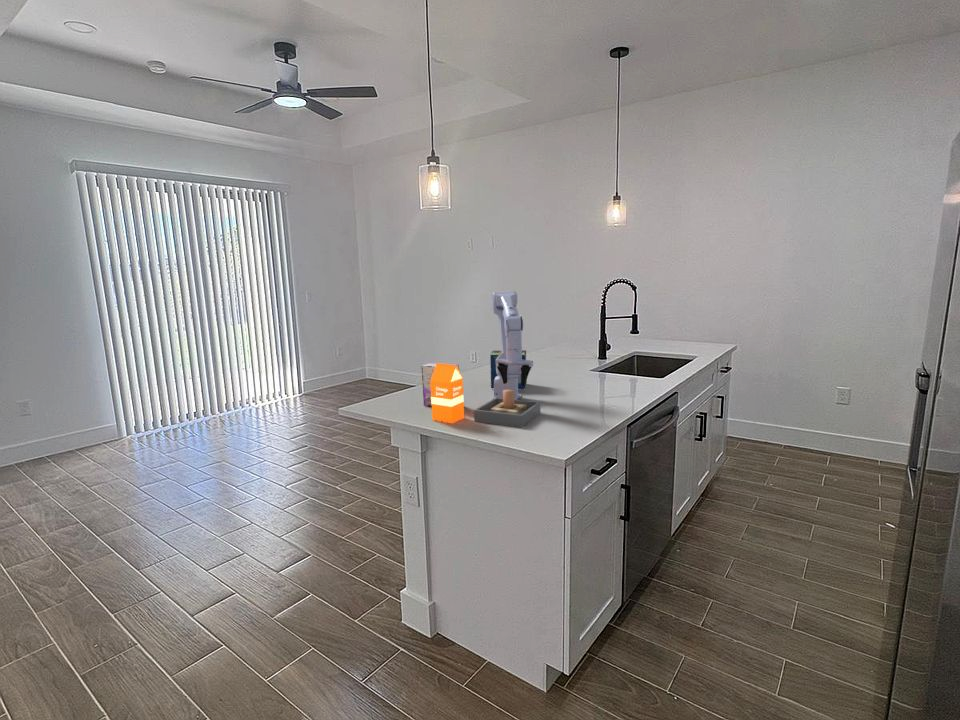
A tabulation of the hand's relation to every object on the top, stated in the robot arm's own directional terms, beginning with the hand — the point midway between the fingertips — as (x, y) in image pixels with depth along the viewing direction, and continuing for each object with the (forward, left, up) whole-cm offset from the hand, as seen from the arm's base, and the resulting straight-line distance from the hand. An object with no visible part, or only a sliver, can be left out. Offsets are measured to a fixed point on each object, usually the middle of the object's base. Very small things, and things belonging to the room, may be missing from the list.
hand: (514, 384), depth 193 cm
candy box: (-28, -7, -10) cm, 30 cm away
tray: (+2, -11, -9) cm, 15 cm away
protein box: (-16, +31, -10) cm, 36 cm away
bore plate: (+1, -8, -9) cm, 12 cm away
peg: (+1, -8, -9) cm, 12 cm away
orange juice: (-17, -21, -10) cm, 29 cm away
